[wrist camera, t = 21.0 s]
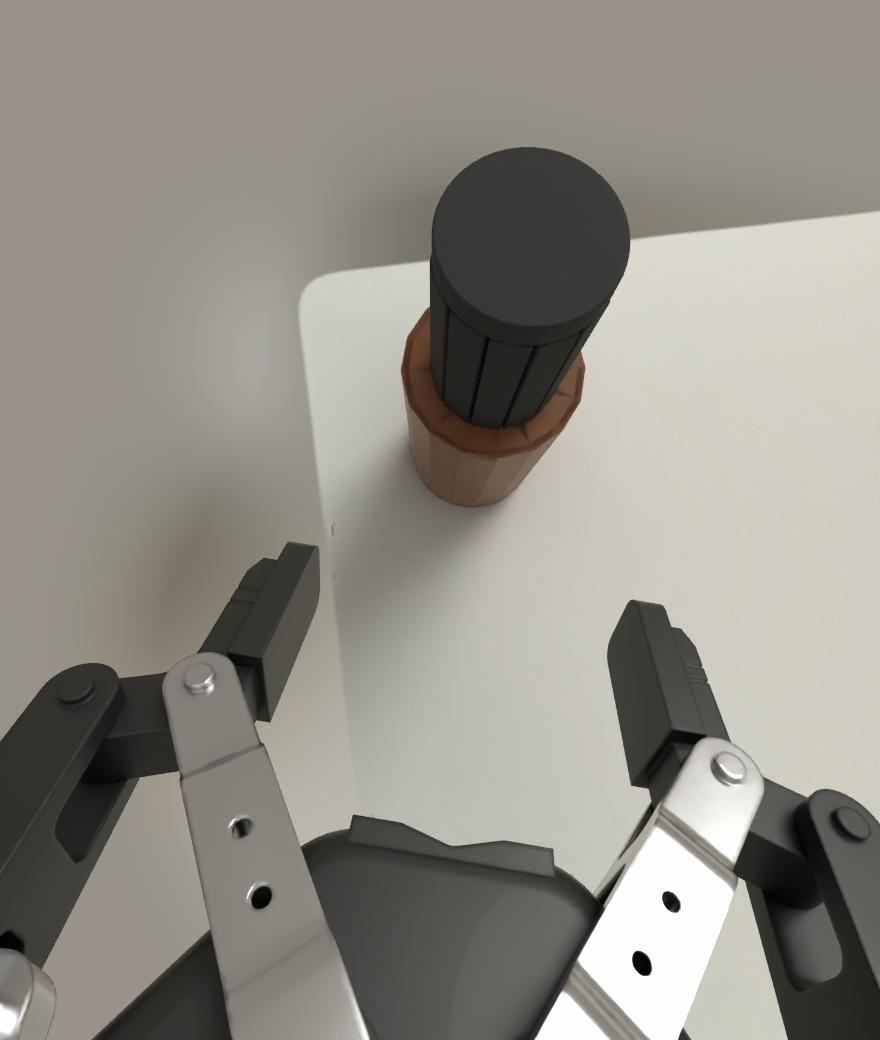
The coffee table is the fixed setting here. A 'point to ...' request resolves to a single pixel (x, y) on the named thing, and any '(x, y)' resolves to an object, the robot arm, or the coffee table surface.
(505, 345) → the bung
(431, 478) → the bottle
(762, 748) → the coffee table surface
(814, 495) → the coffee table surface
